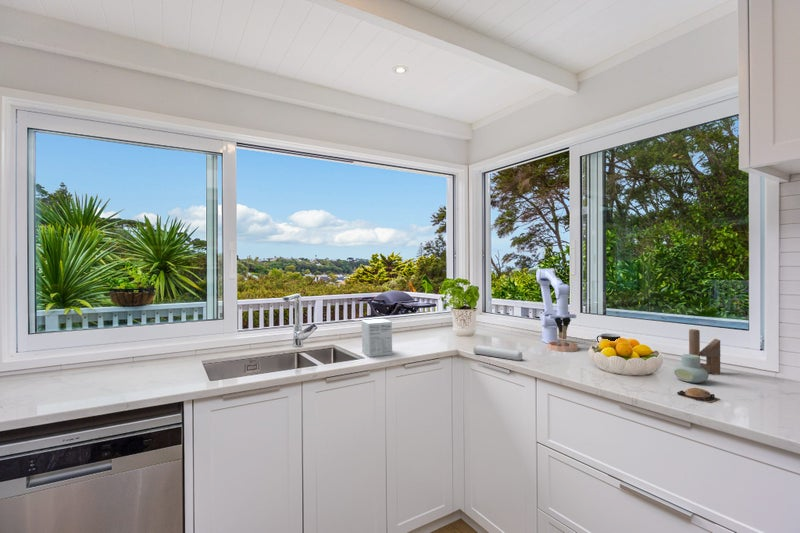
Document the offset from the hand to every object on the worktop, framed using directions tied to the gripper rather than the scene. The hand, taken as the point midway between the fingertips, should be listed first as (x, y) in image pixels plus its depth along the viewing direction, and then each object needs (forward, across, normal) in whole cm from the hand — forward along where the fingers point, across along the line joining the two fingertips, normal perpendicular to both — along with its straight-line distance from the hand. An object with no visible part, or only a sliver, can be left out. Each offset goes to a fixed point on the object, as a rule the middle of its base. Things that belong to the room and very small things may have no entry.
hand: (562, 331), depth 214 cm
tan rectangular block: (+4, 0, 0) cm, 4 cm away
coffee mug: (+10, +17, -15) cm, 25 cm away
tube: (+10, -40, -14) cm, 44 cm away
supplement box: (+10, -101, +2) cm, 101 cm away
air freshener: (+10, +22, -61) cm, 66 cm away
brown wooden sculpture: (+10, +36, -51) cm, 63 cm away
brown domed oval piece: (+10, +10, -78) cm, 79 cm away
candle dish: (+9, 0, 0) cm, 9 cm away
